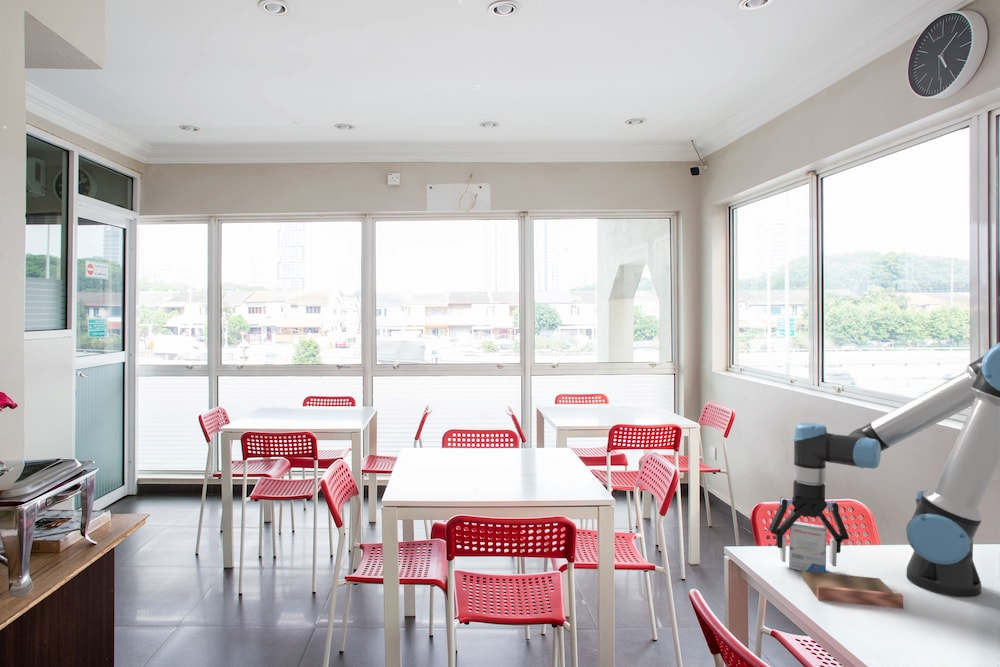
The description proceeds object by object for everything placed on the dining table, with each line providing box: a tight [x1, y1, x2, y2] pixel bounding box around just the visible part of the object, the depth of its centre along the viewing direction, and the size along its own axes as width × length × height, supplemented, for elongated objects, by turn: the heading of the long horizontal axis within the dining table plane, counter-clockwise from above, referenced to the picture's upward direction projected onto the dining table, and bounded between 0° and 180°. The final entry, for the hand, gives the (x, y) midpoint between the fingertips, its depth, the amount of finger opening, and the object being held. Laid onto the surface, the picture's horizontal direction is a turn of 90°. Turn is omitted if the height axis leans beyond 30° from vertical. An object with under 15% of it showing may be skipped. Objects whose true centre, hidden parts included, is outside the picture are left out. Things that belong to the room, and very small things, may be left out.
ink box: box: [788, 520, 827, 573], centre depth 157 cm, size 9×5×12 cm, turn 58°
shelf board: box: [801, 571, 904, 610], centre depth 144 cm, size 18×13×3 cm
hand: (807, 562), depth 157 cm, fingers open, 12 cm apart
